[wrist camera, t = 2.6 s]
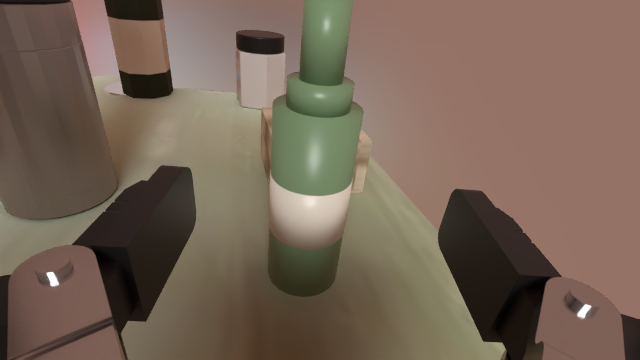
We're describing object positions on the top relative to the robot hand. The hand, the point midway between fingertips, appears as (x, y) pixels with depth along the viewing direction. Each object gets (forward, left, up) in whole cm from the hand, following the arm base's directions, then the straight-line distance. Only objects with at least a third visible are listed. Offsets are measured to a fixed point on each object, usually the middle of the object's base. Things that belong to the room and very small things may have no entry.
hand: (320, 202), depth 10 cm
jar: (-35, +41, -15) cm, 56 cm away
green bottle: (-6, +10, -15) cm, 19 cm away
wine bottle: (-53, +31, -15) cm, 63 cm away
